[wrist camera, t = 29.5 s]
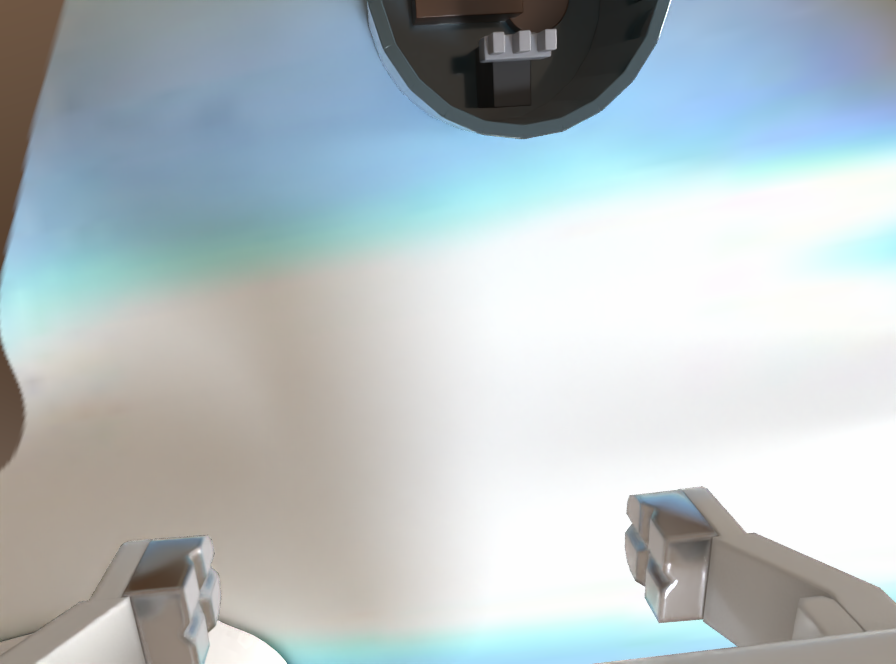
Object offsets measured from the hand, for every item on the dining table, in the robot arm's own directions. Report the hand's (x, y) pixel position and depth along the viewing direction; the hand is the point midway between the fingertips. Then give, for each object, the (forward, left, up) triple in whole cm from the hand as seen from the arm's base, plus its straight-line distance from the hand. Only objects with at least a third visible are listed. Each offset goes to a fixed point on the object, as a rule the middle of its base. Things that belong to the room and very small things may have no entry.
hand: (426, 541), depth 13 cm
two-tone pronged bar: (+6, +11, -22) cm, 26 cm away
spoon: (+6, +13, -26) cm, 30 cm away
